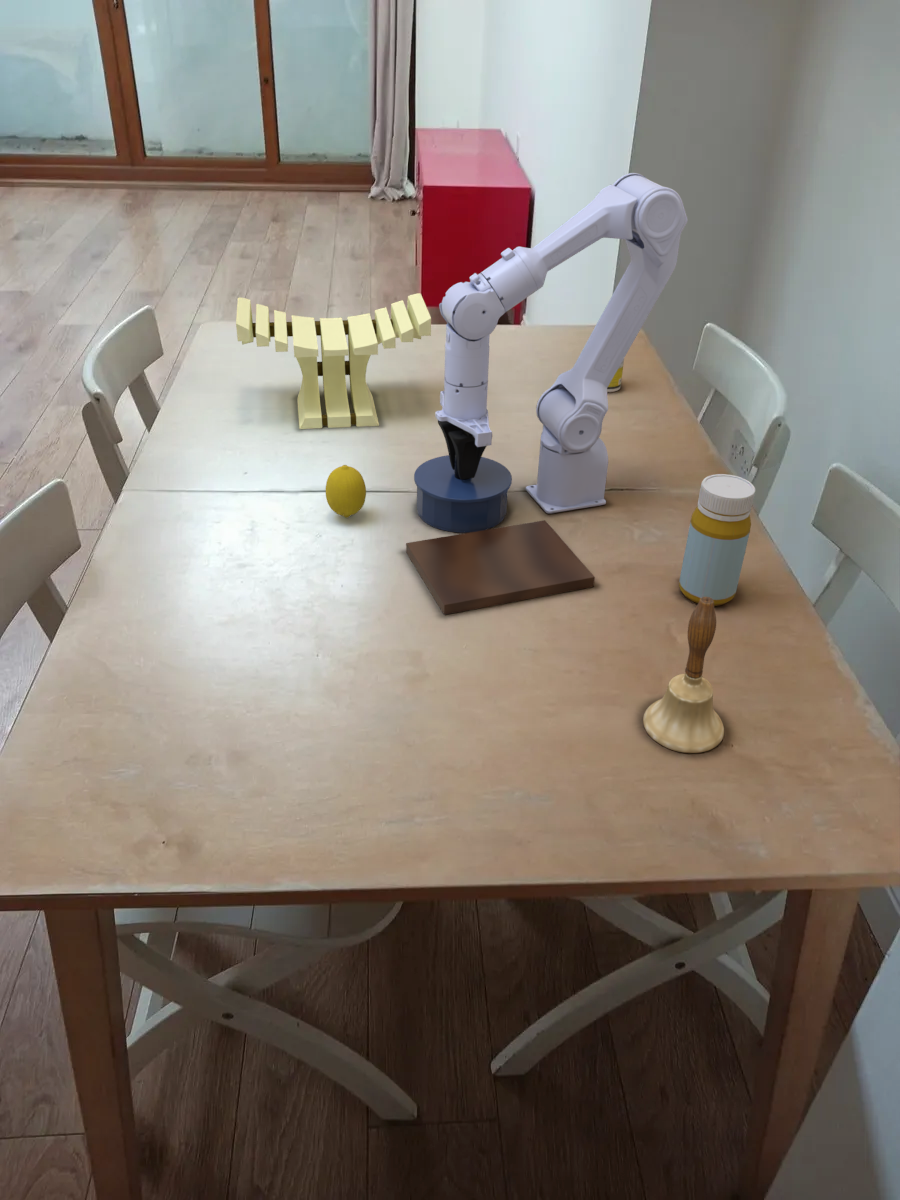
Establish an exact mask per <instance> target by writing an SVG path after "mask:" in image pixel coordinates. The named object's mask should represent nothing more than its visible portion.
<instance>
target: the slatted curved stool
mask: <svg viewBox="0 0 900 1200" xmlns="http://www.w3.org/2000/svg"><path fill="white" fill-rule="evenodd" d="M251 301H252V300H251V299H250V298H246V297H237V303H236V304H237V305H236V317H235V319H236V320H235V325H236V326H235V327H236V337H237V342H241V345H242V346H243V345H247V344H251V343H254V338H255V341H256V343H255V344H256V347H258V348H259V347H262V348H263V347H265V348H266V347H270V342H271V338H274V347H275V349H274V350H275V353H287V352H289V339H288V338H289V337H292V343H293V358H295V359H296V361H297V363H298V365H299V369H300V371H301V374H302V381H301V384H300V389H299V391H298V395H297V400H296V401H297V417H298V429H299V430H308V429H309V430H311V429H323V427H327V428H328V429H332V428H333V429H334V428H335V429H336V428H338V429H339V428H351V427H352V426H356V427H357V428H359V427H360V428H361V427H379V426H380V423H379V417H378V414H377V410H376V405H375V401H374V397H373V394H372V392H371V390H370V388H369V386H368V384H367V379H366V378H367V377H366V376H367V375H366V374H367V368H368V363H369V361H370V358H371V356H378V355H379V345H380V344H382V347H383V349H384V350H387V349H388V350H389V349H396V347H397V346H396V345H397V344H396V342H397V341H396V339H400V343H414V339H417V340H422V337H431V336H432V317H431V314H430V311H429V309H428V307H427V305H426V302H425V300H424V298H423V296H422V293H420V292H419V293H414V294H409V295H407V300H406V302H407V303H406V304H405V302H404V300H403V299H401V300H398V301H395V302H392V303H390V315H389V311H388V309H387V306H385V307H381V308H378V309H374V319H372V317H371V313H370V312H368V313H363V314H357V315H350V316H347V319H343V317H319V320H315V317H310V316H301V315H293V314H291V321H287V313H286V312H285V311H281V310H276V309H274V310H273V311H274V312H273V317H274V318H273V321H270V311H269V306H266V305H264V304H260V303H256V304H255V322H253V321H254V320H253V312H252V311H253V310H252V302H251ZM317 336H319V337H320V350H321V351H320V352H321V361H318V357H319V346H318V338H317ZM346 336H347V337H346ZM345 356H347V357H348V360H345V359H346V357H345ZM346 376H348V377H349V391H350V398H351V399H350V400H351V404H352V409H353V410H352V411H353V412H351V411H350V403H349V399H348V398H349V397H348V390H347V381H346V380H347V378H346ZM319 377H322V385H323V386H322V387H323V398H324V405H325V406H324V407H325V414H322V409H321V408H322V407H321V398H320V388H319V387H320V386H319Z"/></svg>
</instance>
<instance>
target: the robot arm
mask: <svg viewBox="0 0 900 1200" xmlns="http://www.w3.org/2000/svg"><path fill="white" fill-rule="evenodd" d="M684 206H685V205H684V202H683V199H682V198H681V195H680V194H679V193H678V192H677V191H676V190H675V189H672V188H670V187H667V186H663V185H660V184H658V183H657V182H655V181H652V180H650V179H648V178H647V177H646V176H644V175H643V174H641V173H638V172H629V173H626V174H623V175H621V176H620V177H619V178H617V179H616V180H615V182H613V184H609V185H606V186H605V187H603V188H601V189H600V191H599V192H598V193H597V194H596V195H595V197H594V198H593V199H592V200H591V201H590V202H589V203H588V204H586V205H585V206H584V207H583V208H582V209H580V210H579V211H578V212H576V213H575V214H574V215H573V216H571V217H570V218H568V220H566V221H565V222H564V223H562V224H561V225H560V226H558V227H557V228H556V229H555V230H553V231H552V232H551V233H550V234H548V235H547V236H546V237H545V238H543V239H542V240H541V241H539V242H538V243H537V244H536V245H535V246H533V247H524V246H516V247H515V248H514V249H513V250H512V249H511V248H510V247H507V248H506V249H504V250H503V251H502V252H501V253H500V256H501V258H499V259H498V260H497V261H495V262H494V263H493V264H491V265H489V266H488V267H487V268H485V269H484V270H483V271H481V272H480V273H477V272H474V273H473V274H472V275H470V276H469V281H464V282H463V281H460V282H457V283H455V284H453V285H452V286H451V287H449V288H448V289H447V290H446V292H444V293H445V296H443V297H442V300H441V302H440V303H439V304H438V307H439V313H440V315H441V317H442V319H444V321H445V322H446V324H445V344H444V379H443V380H444V383H443V384H444V386H443V390H440V392H439V405H440V406H441V407H442V408H441V409H440V410H436V411H435V414H434V416H435V418H436V420H437V423H438V425H439V428H440V430H441V432H442V435H443V436H444V439H445V444H446V449H447V452H448V455H449V458H450V463H451V466H452V469H453V470H455V453H456V459H457V470H458V474H459V478H460V479H469V478H474V477H475V475H476V472H477V468H478V465H479V462H480V459H481V457H483V454H484V452H485V450H486V448H487V447H489V446H492V445H493V442H492V441H493V431H492V430H491V428H490V421H489V420H490V419H489V410H488V392H489V391H488V390H489V368H490V367H489V365H490V335H491V334H492V333H493V332H494V331H495V329H496V327H497V325H498V322H499V319H500V318H501V317H502V316H503V315H504V314H505V313H507V312H508V311H510V310H512V309H513V308H514V307H516V306H517V305H519V304H521V302H523V301H524V300H526V299H527V298H528V297H530V296H531V295H533V294H534V293H536V292H537V291H539V290H540V289H542V288H543V287H544V284H545V281H546V278H547V275H548V272H549V271H551V270H553V269H554V268H556V267H557V266H559V265H561V264H562V263H564V262H566V261H567V260H569V259H571V258H573V257H574V256H576V255H577V254H579V253H580V252H582V251H583V250H585V249H587V248H588V247H590V246H591V245H593V244H595V243H597V242H598V241H599V240H602V239H604V238H605V239H617V240H624V241H625V244H626V245H625V246H626V248H627V251H628V255H629V258H630V262H629V264H628V265H627V267H626V269H625V271H624V272H623V275H622V277H621V278H620V280H619V282H618V283H617V285H616V287H615V290H614V291H613V293H612V295H611V297H610V299H609V300H608V302H607V304H606V306H605V307H604V310H603V311H602V313H601V315H600V317H599V319H598V321H597V323H596V325H595V326H594V328H593V330H592V331H591V333H590V335H589V337H588V338H587V341H586V342H585V344H584V347H583V348H582V350H581V352H580V353H579V355H578V357H577V359H576V361H575V363H574V364H573V366H572V367H571V368H570V369H568V370H566V371H563V372H562V373H560V374H558V376H557V377H556V379H555V380H554V382H553V384H552V385H551V386H550V387H549V388H548V389H546V390H545V391H544V392H542V394H541V395H540V397H539V399H538V400H537V403H536V406H535V412H536V416H537V419H538V420H539V422H540V423H541V424H542V431H541V435H540V442H539V452H538V453H539V454H538V467H537V477H536V478H537V479H536V484H531V485H526V486H525V491H526V492H527V493H528V494H529V495H530V496H531V498H532V499H533V500H534V501H535V502H536V503H537V504H538V505H539V506H540V508H541V509H542V510H543V511H544V512H545V513H546V514H555V513H561V512H568V511H573V510H580V509H586V508H593V507H598V506H603V505H606V504H607V500H606V499H605V492H606V483H607V476H608V468H609V454H608V449H607V446H606V444H605V443H604V441H603V439H602V438H600V437H601V435H602V429H603V421H604V418H605V416H606V414H607V413H608V411H609V398H608V392H607V387H608V386H609V384H610V382H611V380H612V379H613V377H614V375H615V373H616V372H617V370H618V368H619V366H620V364H621V363H622V361H623V359H624V360H625V357H626V356H627V354H628V352H629V350H630V349H631V347H632V345H633V344H634V341H635V340H636V339H637V336H638V334H639V333H640V331H641V329H642V327H643V326H644V325H645V322H646V321H647V319H648V318H649V315H650V313H651V312H652V310H653V309H654V307H655V304H656V303H657V301H658V299H659V298H660V296H661V294H662V292H663V290H664V289H665V287H666V285H667V283H668V282H669V280H670V278H671V276H672V275H673V273H674V271H675V269H676V266H677V263H678V257H679V250H680V248H679V247H680V241H681V235H682V232H683V231H684V229H685V227H686V225H687V223H688V221H689V219H688V215H687V213H686V209H685V207H684Z"/></svg>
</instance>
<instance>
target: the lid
mask: <svg viewBox="0 0 900 1200" xmlns="http://www.w3.org/2000/svg"><path fill="white" fill-rule="evenodd" d="M413 481H414V485H415V487H416V488H417V487H418V488H419V489H420V490H421V491H422V492H424V493H425V494H427V495H429V496H431V497H434V498H437V499H440V500H444V501H450V502H459V503H472V502H481V501H487V500H490V499H493V498H496V497H498V496H500V495H502V494H504V493H505V492H506V491H507V490H508V491H509V489H511V487H512V483H513V475H512V473H511V471H510V470H509V469H508V468H507V467H506V466H505V465H504V464H502V463H500V462H498V461H496V460H494V459H491V458H489V457H485V456H481V459H480V462H479V465H478V468H477V472H476V475H475V477H474V478H469V479H460V478H459V474H458V470H457V459H456V453H455V470H453V469H452V466H451V463H450V458H449V454H448V455H447V454H446V455H442V456H437V457H434V458H430V459H428V460H426V461H424V462H422V463H421V464H420V465H419V466H417V468H416V469H415V471H414V474H413Z"/></svg>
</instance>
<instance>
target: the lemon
mask: <svg viewBox="0 0 900 1200" xmlns="http://www.w3.org/2000/svg"><path fill="white" fill-rule="evenodd" d="M366 497H367V486H366V483H365V480H364V477H363V475H362V473H361V472H360V471H359V470H357V469H356V468H355V467H352V466H349V465H347V464H343V465H342V466H338V467H336V468H335V469H332V471H331V472H330V473H329V474H328V477H327V479H326V483H325V498H326V499H325V500H326V502H327V504H328V507H329V508H330V510H331V511H333V512H334V513H335V514H337V515H339V516H342V517H344V518H346V519H347V518H348V519H349V518H350V517H351V516H353V515H356V514H357V513H358V512H359V511H361V510H362V508H363V507H364V505H365V503H366Z"/></svg>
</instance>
